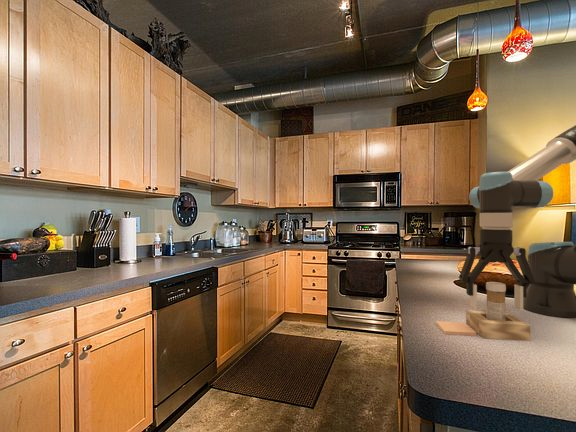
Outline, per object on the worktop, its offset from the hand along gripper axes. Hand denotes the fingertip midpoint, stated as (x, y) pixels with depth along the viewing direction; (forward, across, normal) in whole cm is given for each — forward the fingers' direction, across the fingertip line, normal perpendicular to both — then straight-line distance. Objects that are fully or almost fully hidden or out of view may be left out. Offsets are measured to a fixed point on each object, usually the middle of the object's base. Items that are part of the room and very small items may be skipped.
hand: (495, 308), depth 85 cm
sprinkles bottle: (+7, 0, 0) cm, 7 cm away
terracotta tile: (+7, +10, 0) cm, 12 cm away
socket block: (+6, 0, 0) cm, 6 cm away
